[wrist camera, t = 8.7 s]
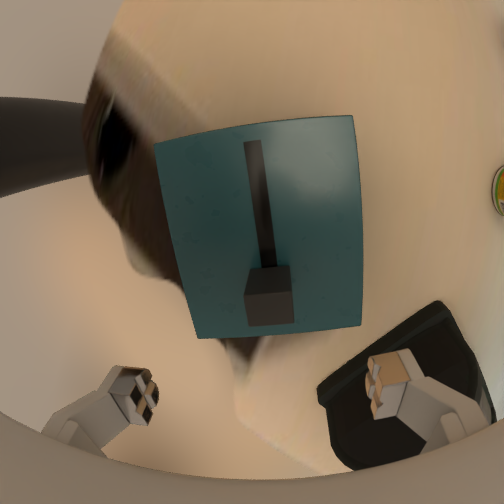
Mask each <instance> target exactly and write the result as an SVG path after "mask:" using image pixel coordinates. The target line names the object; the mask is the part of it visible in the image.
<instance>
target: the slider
mask: <svg viewBox="0 0 504 504" xmlns="http://www.w3.org/2000/svg"><path fill="white" fill-rule="evenodd" d="M243 299H244V304H245V310H246V315H247V321H248V326H249V327H256V326H269V325H282V324H293V323H294V308H293V294H292V283H291V273H290V266H278V267H268V268H258V269H250V271H249V275H248V279H247V283H246V287H245V291H244V295H243Z"/></svg>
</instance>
